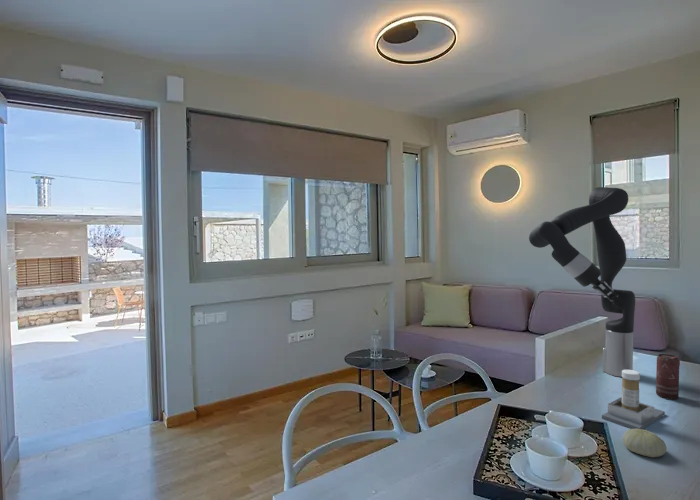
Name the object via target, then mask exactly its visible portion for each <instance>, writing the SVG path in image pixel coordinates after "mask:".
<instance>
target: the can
mask: <svg viewBox="0 0 700 500" xmlns="http://www.w3.org/2000/svg"><path fill="white" fill-rule="evenodd" d="M680 365H681V359H680V357H679V356H676V355H673V354H669V353H668V354H667V353H659V354H658V355H657V357H656V375H655V376H656V377H655V380H656V381H655V395H657V396H658V397H659V398H662V399H666V400H671V401H674V400H675V401H676V400H677V399H678V398H679V396H680V395H679V393H680V390H679V389H680Z"/></svg>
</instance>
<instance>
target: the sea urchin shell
mask: <svg viewBox="0 0 700 500" xmlns="http://www.w3.org/2000/svg"><path fill="white" fill-rule="evenodd" d="M622 441H623V444H624V446H625V447H626V448H627V450H629V451H630V452H632V453H636V454H637V455H641V456H643V457H649V458H659V457H661V456H664V455H665V454H666V452H667V449H668V447H667V445H666V442H665V441H664V440H663V439H662V438H661V437H660V436H658V434H655V433H653V432H651V431H649V430H647V429H637V428H636V429H631V428H629V429H627V430H626V431H625V432H624V433H623V435H622Z"/></svg>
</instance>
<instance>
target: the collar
mask: <svg viewBox="0 0 700 500" xmlns="http://www.w3.org/2000/svg"><path fill="white" fill-rule="evenodd" d="M654 408H655V406H653V405H649V404H647V403H646V404H645V403H643V402H640V401H639V412H636V411H633V410H629V409H626V408H623V407H622V396H621V397H618V398H617V399H615V400H613V401H611V402H609V403H607V412H608V414H610V415H613V416H616V417H619V418H622V419H625V420H628V421H631V422H634V423H637V424H640V425H642V424H643V423H645V422H646V421H648V420H649V419H651V418H653V417H654Z"/></svg>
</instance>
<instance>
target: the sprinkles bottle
mask: <svg viewBox="0 0 700 500" xmlns="http://www.w3.org/2000/svg"><path fill="white" fill-rule="evenodd" d="M621 379H622V381H621V382H622V383H621V386H622V387H621V397H622V407H623V408H626V409H629V410H633V411H636V412H639V402H640V379H641V373H640V372H639V371H637V370H634V369H633V370H622V377H621Z"/></svg>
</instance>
